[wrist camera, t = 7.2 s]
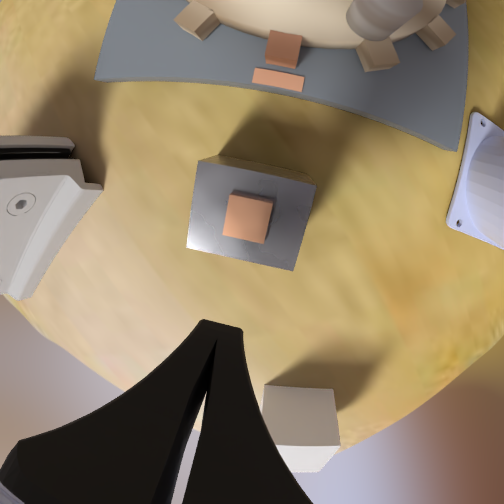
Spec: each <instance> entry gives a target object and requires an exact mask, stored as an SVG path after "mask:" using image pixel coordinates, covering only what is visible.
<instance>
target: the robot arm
mask: <svg viewBox="0 0 504 504" xmlns="http://www.w3.org/2000/svg"><path fill="white" fill-rule="evenodd" d="M481 121H482V125H481ZM458 220H459V223H458V224H457V225H456V223H457V221H458ZM446 224H447V225H448V226H449V227H450V228H452V229H455V230H458V231H460V232H463V233H465V234H468V235H470V236H473V237H475V238H478V239H480V240H482V241H485V242H487V243H490V244H492V245H494V246H496V247H499V248H501V249H503V250H504V131H503V130H502V129H501V128H499V127H498V126H497V125H495V124H494V123H493V122H491V121H490V120H488V119H487V118H486V117H484V116H483V115H481V114H480V113H478V112H472V113H471V115H470V121H469V127H468V133H467V139H466V144H465V149H464V154H463V159H462V163H461V168H460V172H459V176H458V180H457V183H456V187H455V191H454V194H453V198H452V201H451V204H450V208H449V211H448V214H447V217H446ZM206 391H207V392H206ZM205 394H206V399H205V406H204V413H203V420H202V427H201V433H200V437H199V441H198V445H197V448H196V453H195V456H194V460H193V464H192V468H191V471H190V475H189V479H188V483H187V487H186V491H185V495H184V498H183V502H182V504H313V503H312V502H311V500H310V499H309V498H308V496H307V495H306V494H305V492H304V491H303V490H302V488H301V487H300V485H299V484H298V483H297V481H296V479H295V478H294V476H293V475H292V473H291V471H290V470H289V468H288V467H287V465H286V463H285V462H284V460H283V458H282V457H281V455H280V453H279V451H278V449H277V447H276V445H275V443H274V441H273V439H272V437H271V435H270V433H269V431H268V428H267V426H266V424H265V422H264V419H263V417H262V414H261V411H260V409H259V406H258V403H257V400H256V397H255V394H254V391H253V387H252V384H251V380H250V376H249V372H248V368H247V363H246V357H245V351H244V343H243V331H242V329H241V328H238V327H233V326H229V325H225V324H221V323H217V322H213V321H209V320H205V319H202V320H200V321H199V323H198V324H197V325H196V327H195V328H194V329H193V331H192V332H191V333H190V334H189V335H188V337H187V338H186V339H185V340H184V341H183V342H182V343H181V344H180V345H179V346H178V347H177V348H176V349H175V350H174V351H173V352H172V353H171V354H170V355H169V356H168V357H167V358H166V359H165V360H164V361H163V362H162V363H161V364H160V365H159V366H157V367H156V368H155V369H154V370H153V371H152V372H151V373H149V374H148V375H147V376H146V377H145V378H143V379H142V380H141V381H140V382H138V383H137V384H136V385H134V386H133V387H132V388H130V389H129V390H127V391H126V392H124V393H123V394H122V395H120V396H119V397H117V398H115V399H114V400H112V401H111V402H109V403H107V404H106V405H104V406H102V407H101V408H99V409H97V410H95V411H93V412H92V413H90V414H88V415H86V416H83V417H81V418H79V419H77V420H75V421H73V422H70V423H68V424H66V425H64V426H62V427H59V428H56V429H54V430H51V431H48V432H45V433H42V434H39V435H36V436H32V437H29V438H26V439H22V440H19V441H18V443H17V444H16V445H15V447H14V448H13V449H12V450H11V452H10V453H9V455H8V456H7V458H6V460H5V462H4V464H3V465H2V467H1V469H0V504H171V500H172V497H173V493H174V489H175V485H176V480H177V477H178V473H179V469H180V465H181V461H182V458H183V453H184V451H185V447H186V444H187V441H188V439H189V436H190V434H191V431H192V428H193V426H194V423H195V420H196V418H197V415H198V413H199V410H200V407H201V405H202V402H203V399H204V397H205Z"/></svg>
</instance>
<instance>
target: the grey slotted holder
mask: <svg viewBox="0 0 504 504" xmlns="http://www.w3.org/2000/svg"><path fill="white" fill-rule="evenodd" d="M74 147H75V145H74V144H73V142H72V141H71V140H70V139H69V138H68V137H50V136H0V295H1V294H9V295H10V296H12V297H13V298H14V299H16V300H18V301H20V300H23V299H27V298H30V297H32V295H33V293H34V291H35V289H36V288H37V286H38V284H39V282H40V281H41V279H42V277H43V275H44V274H45V272H46V270H47V269H48V267H49V266H50V264H51V262H52V261H53V259H54V258H55V256H56V254H57V253H58V251H59V250H60V248H61V247H62V245H63V244H64V242H65V241H66V239H67V238H68V237H69V235H70V234H71V232H72V231H73V229H74V228H75V227H76V225H77V224H78V223H79V221H80V220H81V218H82V217H83V216H84V214H85V213H86V212H87V211H88V209H89V208H90V207H91V205H92V204H93V203H94V202H95V200H96V199H97V198H98V197H99V195H100V194H101V193H102V192H103V188H102V186H101V185H100V184H94V183H85V180H84V176H83V172H82V167H81V163H80V159H73V158H68V157H69V155H70V154H71V151H72V149H73V148H74Z"/></svg>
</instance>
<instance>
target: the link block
mask: <svg viewBox="0 0 504 504" xmlns="http://www.w3.org/2000/svg"><path fill="white" fill-rule="evenodd" d="M316 188H317V185H316V184H315V183H314V182H313V180H312V179H311V178H310V177H309V175H308V174H305V173H301V172H297V171H293V170H289V169H285V168H280V167H276V166H272V165H267V164H262V163H258V162H253V161H248V160H243V159H238V158H232V157H227V156H221V155H216V156H212V157H209V158H206V159H202V160H199V161H198V166H197V172H196V178H195V185H194V192H193V199H192V206H191V213H190V221H189V229H188V238H187V246H186V247H187V248H191V249H195V250H200V251H204V252H209V253H213V254H217V255H222V256H226V257H231V258H235V259H240V260H244V261H249V262H253V263H258V264H262V265H267V266H271V267H276V268H280V269H285V270H290V271H293V270H294V267H295V263H296V260H297V256H298V253H299V250H300V246H301V243H302V239H303V236H304V232H305V229H306V225H307V221H308V218H309V214H310V210H311V207H312V203H313V199H314V195H315V192H316Z"/></svg>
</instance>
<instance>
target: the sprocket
mask: <svg viewBox="0 0 504 504" xmlns="http://www.w3.org/2000/svg"><path fill="white" fill-rule="evenodd" d="M186 1H187V2H188V3H189V5H188V6H186V7H185V8H184V9H183V10H182V11H181V12H180V13H179V14H178V15H177V17H176V18H175V19H174V21H175V22H176V23H177V24H178V25H179V26H180V27H181V28H182V29H183V30H185V31H186V32H188V33H190V34H192V35H193V36H195V37H197V38H198V39H200V40H202V41H203V40H204V39H205V38H206V37H207V36H208V35H209V34H210V33H211V32H212V31H213V30H214V29H215V28H216V27H217V26H218V25H219V24H220V23H221V24H223V25H225V26H227V27H230V28H233V29H235V30H238V31H240V32H243V33H246V34H249V35H253V36H256V37H260V38H263V39H267V40H268V42H267V46H266V51H265V60H266V64H272V65H278V66H283V67H288V68H293V69H295V68H296V64H297V60H298V55H299V50H300V46H304V47H312V48H324V49H356V51H357V54H358V56H359V59H360V61H361V63H362V66H363V69H364V71H365V72H370V71H377V70H385V69H390V68H392V67H393V66H395V65H397V64H399V63H400V61H399V58H398V56H397V53H396V51H395V49H394V46H393V44H392V43H394V42H397V41H400V40H402V39H404V38H406V37H409V36H411V35H413V34H414V33H416V34H417V35H418V36H419V37H420V38H421V39H422V40H423V41H424V42H425V43H426V45H427V46H428V47H429V48H430V49H431V50H432V51H433V50H435V49H438V48H440V47H442V46H444V45H446V44H447V43H448V42H449V41H450V40H451V39H452V38H453V37H454V36H455V35H456V33H455V32H454V31H453V30H452V29H451V28H450V26H449V25H448V24H447V23H446V22H445V21H444V20H443V19H442V18H441V17H440V16H439V14H440V13H441V11H442V9H443V7H444V6H445V4H448V5H449V6H451V7H453V8H454V9H455V8H456V7H458V6H460V5H462V4H463V3H465V2H466V0H186Z"/></svg>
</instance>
